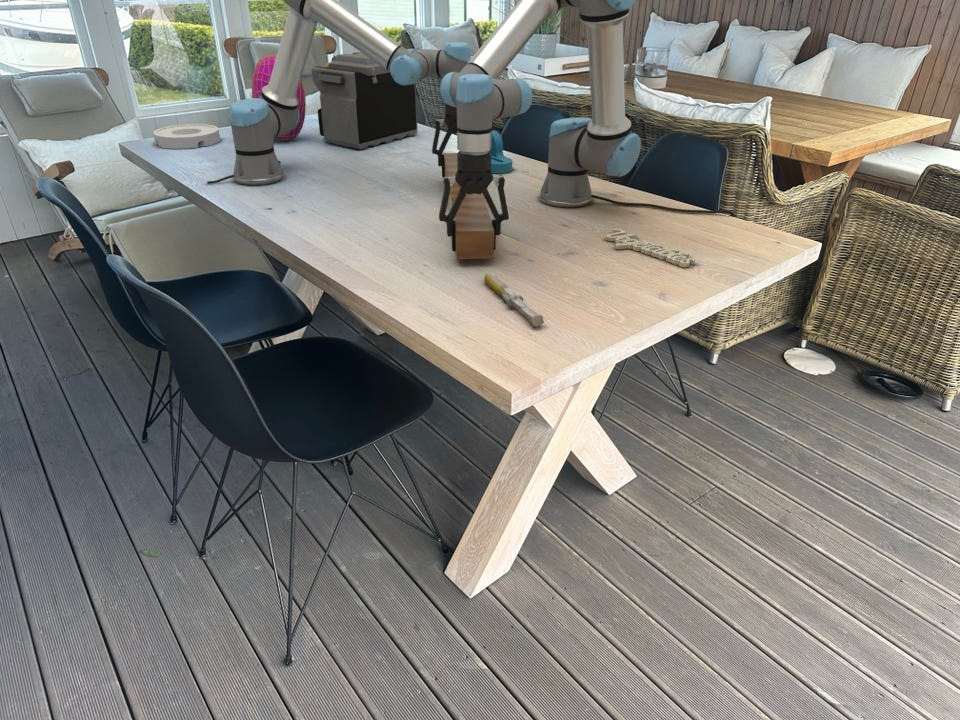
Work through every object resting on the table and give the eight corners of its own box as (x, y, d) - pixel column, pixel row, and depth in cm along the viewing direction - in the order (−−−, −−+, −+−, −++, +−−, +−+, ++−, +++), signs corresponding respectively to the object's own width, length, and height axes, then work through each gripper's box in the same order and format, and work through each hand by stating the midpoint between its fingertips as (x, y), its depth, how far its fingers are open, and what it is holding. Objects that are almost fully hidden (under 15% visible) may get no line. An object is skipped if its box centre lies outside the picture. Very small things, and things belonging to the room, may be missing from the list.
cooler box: (381, 126, 286) (376, 48, 271) (421, 134, 275) (419, 52, 260) (314, 143, 261) (305, 57, 245) (356, 151, 250) (349, 62, 234)
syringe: (480, 279, 152) (480, 268, 151) (495, 277, 153) (495, 266, 152) (526, 330, 132) (527, 317, 131) (544, 326, 134) (545, 314, 132)
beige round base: (171, 134, 271) (168, 123, 269) (229, 135, 270) (227, 124, 268) (144, 148, 251) (141, 136, 249) (207, 149, 251) (205, 138, 249)
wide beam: (493, 258, 158) (494, 230, 155) (456, 259, 158) (456, 231, 154) (470, 173, 219) (470, 152, 216) (443, 174, 218) (443, 153, 215)
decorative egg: (293, 132, 276) (283, 50, 261) (319, 140, 264) (310, 56, 249) (249, 139, 265) (236, 54, 250) (273, 148, 253) (261, 60, 238)
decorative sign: (591, 236, 174) (616, 227, 180) (591, 240, 174) (616, 231, 180) (679, 267, 157) (703, 256, 163) (678, 271, 158) (703, 260, 163)
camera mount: (462, 163, 238) (462, 131, 233) (487, 158, 243) (487, 128, 238) (493, 175, 225) (494, 142, 220) (518, 170, 230) (519, 138, 225)
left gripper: (492, 97, 207) (491, 172, 219) (421, 97, 205) (423, 173, 217) (495, 102, 201) (493, 179, 212) (421, 102, 199) (424, 180, 210)
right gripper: (520, 146, 154) (516, 241, 166) (424, 147, 152) (427, 243, 164) (525, 154, 148) (520, 253, 159) (425, 155, 146) (428, 255, 158)
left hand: (458, 176), depth 215 cm, fingers closed on wide beam, 9 cm apart
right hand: (473, 248), depth 162 cm, fingers closed on wide beam, 9 cm apart
